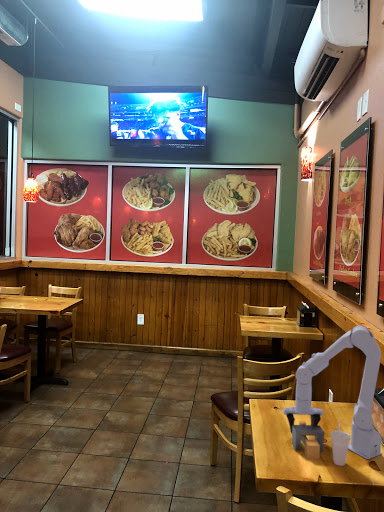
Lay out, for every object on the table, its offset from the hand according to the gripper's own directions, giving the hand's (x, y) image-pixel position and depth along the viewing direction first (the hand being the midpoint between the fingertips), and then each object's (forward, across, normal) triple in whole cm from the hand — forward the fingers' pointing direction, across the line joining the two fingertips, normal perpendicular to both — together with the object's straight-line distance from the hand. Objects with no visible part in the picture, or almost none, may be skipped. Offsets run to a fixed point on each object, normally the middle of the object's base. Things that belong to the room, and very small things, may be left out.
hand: (302, 433), depth 154 cm
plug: (+2, 0, +7) cm, 7 cm away
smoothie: (+2, -8, +17) cm, 19 cm away
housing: (+2, 0, +7) cm, 7 cm away
